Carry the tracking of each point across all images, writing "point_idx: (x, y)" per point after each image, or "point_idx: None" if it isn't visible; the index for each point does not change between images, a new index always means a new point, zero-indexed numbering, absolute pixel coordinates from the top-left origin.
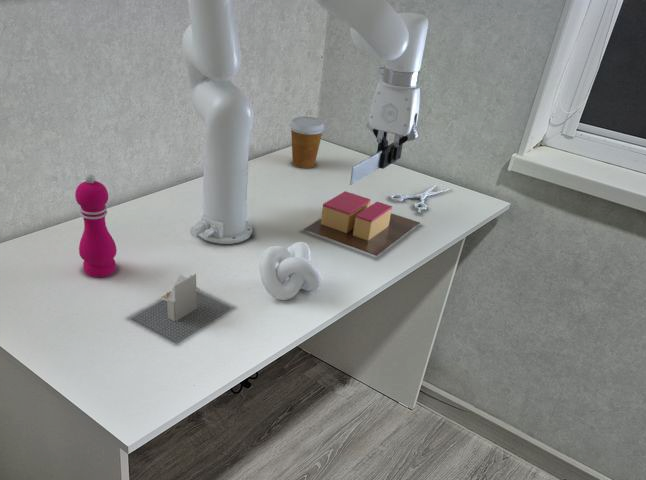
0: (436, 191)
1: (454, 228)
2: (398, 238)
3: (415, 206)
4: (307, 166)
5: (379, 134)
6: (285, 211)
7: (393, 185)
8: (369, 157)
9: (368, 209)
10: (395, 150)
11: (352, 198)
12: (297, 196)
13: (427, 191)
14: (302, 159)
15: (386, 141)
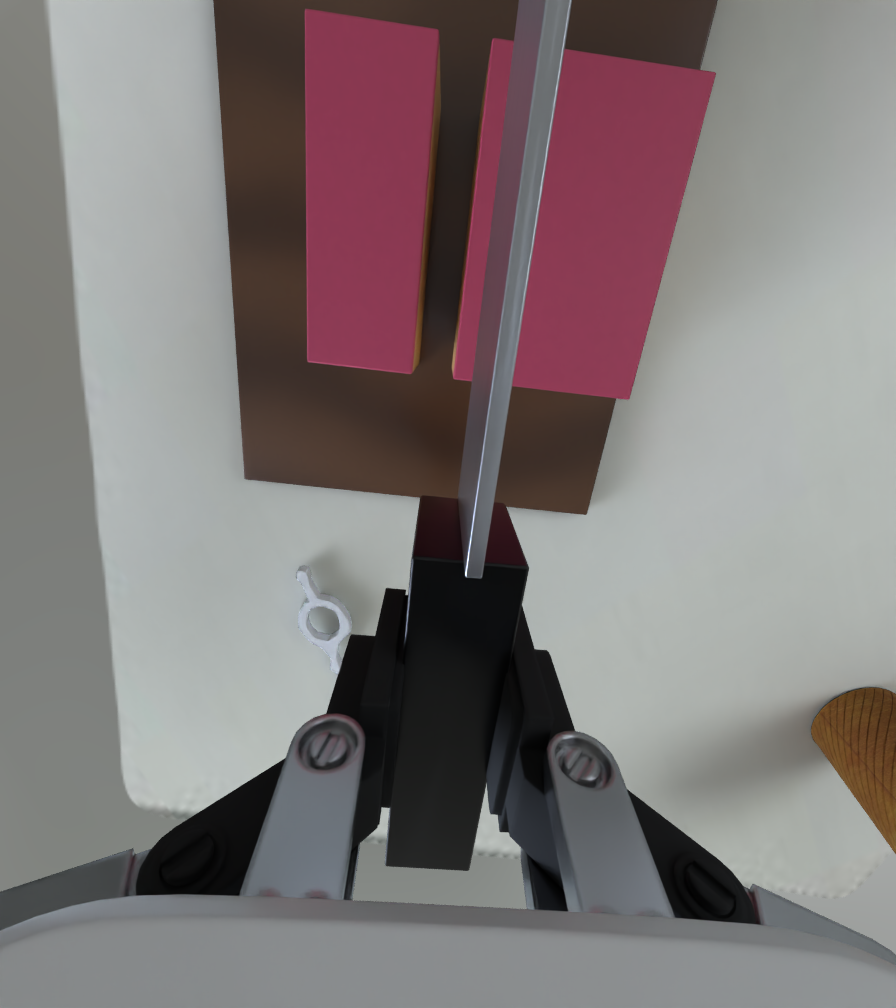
0: None
1: (135, 533)
2: (233, 242)
3: (333, 606)
4: (841, 703)
5: (618, 845)
6: (861, 223)
7: None
8: (532, 201)
9: (403, 204)
10: (351, 697)
11: (555, 317)
12: (829, 434)
13: None
14: (892, 716)
15: (505, 805)
